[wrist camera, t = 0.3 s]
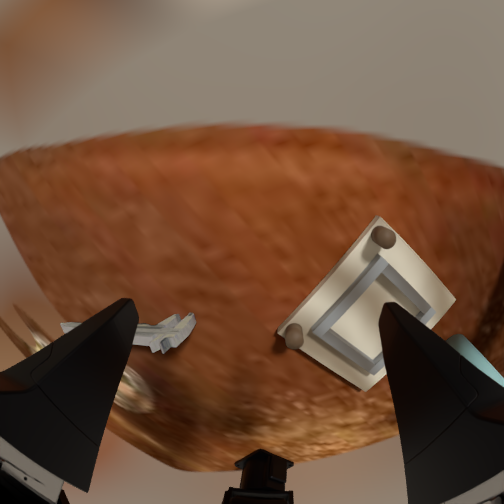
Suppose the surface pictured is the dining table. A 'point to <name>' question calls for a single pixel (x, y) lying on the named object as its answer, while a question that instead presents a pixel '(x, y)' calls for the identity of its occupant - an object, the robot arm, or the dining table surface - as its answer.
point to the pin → (474, 356)
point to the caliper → (157, 332)
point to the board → (364, 304)
